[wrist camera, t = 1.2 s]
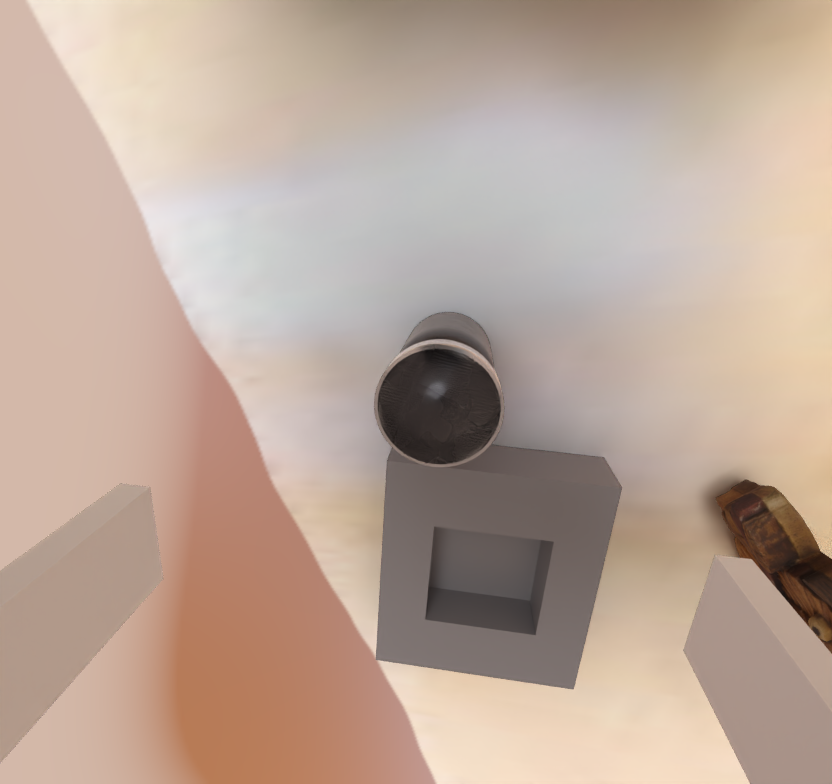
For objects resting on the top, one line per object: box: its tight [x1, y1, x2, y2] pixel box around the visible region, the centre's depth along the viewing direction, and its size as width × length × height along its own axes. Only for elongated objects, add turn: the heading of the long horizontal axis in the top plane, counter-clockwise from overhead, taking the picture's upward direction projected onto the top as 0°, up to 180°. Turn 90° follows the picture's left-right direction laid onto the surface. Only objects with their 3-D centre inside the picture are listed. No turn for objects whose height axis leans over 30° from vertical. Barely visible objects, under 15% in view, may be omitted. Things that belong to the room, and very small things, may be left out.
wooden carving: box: [716, 480, 832, 654], centre depth 28 cm, size 16×5×10 cm, turn 39°
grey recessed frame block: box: [376, 445, 622, 689], centre depth 33 cm, size 16×14×4 cm
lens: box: [374, 312, 504, 467], centre depth 26 cm, size 6×6×10 cm
